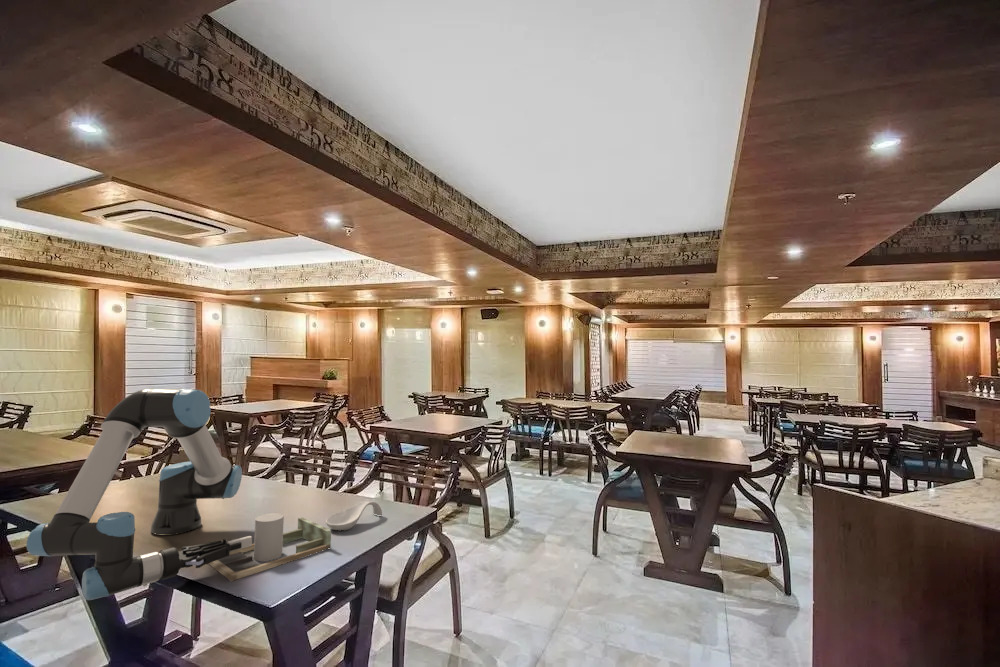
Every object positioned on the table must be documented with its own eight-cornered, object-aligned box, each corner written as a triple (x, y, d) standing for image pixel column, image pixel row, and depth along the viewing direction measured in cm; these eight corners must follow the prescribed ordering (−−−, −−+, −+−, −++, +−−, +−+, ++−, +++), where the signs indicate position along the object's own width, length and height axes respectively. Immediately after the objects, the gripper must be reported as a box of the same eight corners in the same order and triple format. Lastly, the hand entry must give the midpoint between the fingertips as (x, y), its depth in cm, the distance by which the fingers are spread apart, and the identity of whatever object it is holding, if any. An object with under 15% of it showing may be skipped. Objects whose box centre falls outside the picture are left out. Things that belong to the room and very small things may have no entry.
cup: (274, 548, 155) (276, 511, 156) (286, 555, 150) (288, 516, 150) (249, 556, 149) (250, 517, 149) (260, 563, 144) (262, 523, 144)
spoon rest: (340, 536, 167) (340, 516, 167) (318, 530, 173) (319, 510, 173) (388, 518, 187) (389, 499, 187) (367, 512, 193) (368, 495, 193)
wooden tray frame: (205, 561, 144) (206, 541, 144) (301, 534, 168) (302, 517, 168) (231, 581, 132) (232, 559, 132) (330, 548, 156) (331, 530, 156)
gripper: (151, 572, 131) (241, 547, 149) (165, 587, 122) (259, 559, 140) (152, 544, 131) (242, 523, 149) (167, 558, 123) (260, 533, 141)
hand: (250, 540), depth 145 cm, fingers closed
